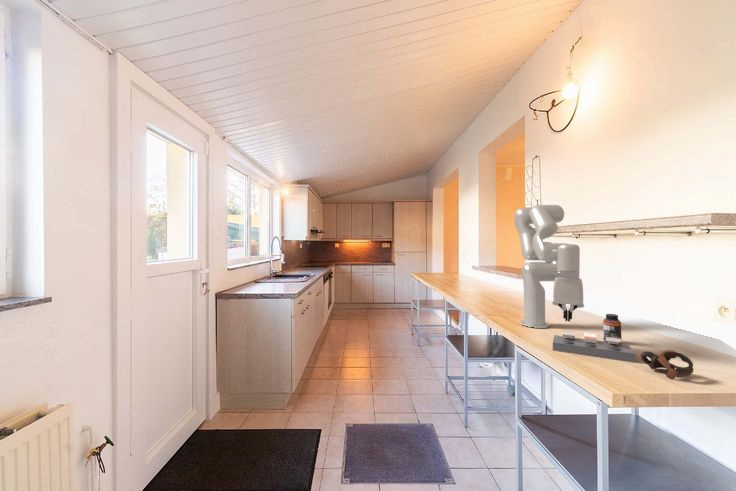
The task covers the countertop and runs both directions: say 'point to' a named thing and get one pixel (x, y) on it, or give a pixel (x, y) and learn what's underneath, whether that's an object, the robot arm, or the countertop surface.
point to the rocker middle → (590, 337)
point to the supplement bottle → (611, 327)
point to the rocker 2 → (613, 340)
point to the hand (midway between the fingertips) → (567, 320)
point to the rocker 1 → (568, 334)
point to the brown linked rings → (668, 363)
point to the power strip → (593, 348)
